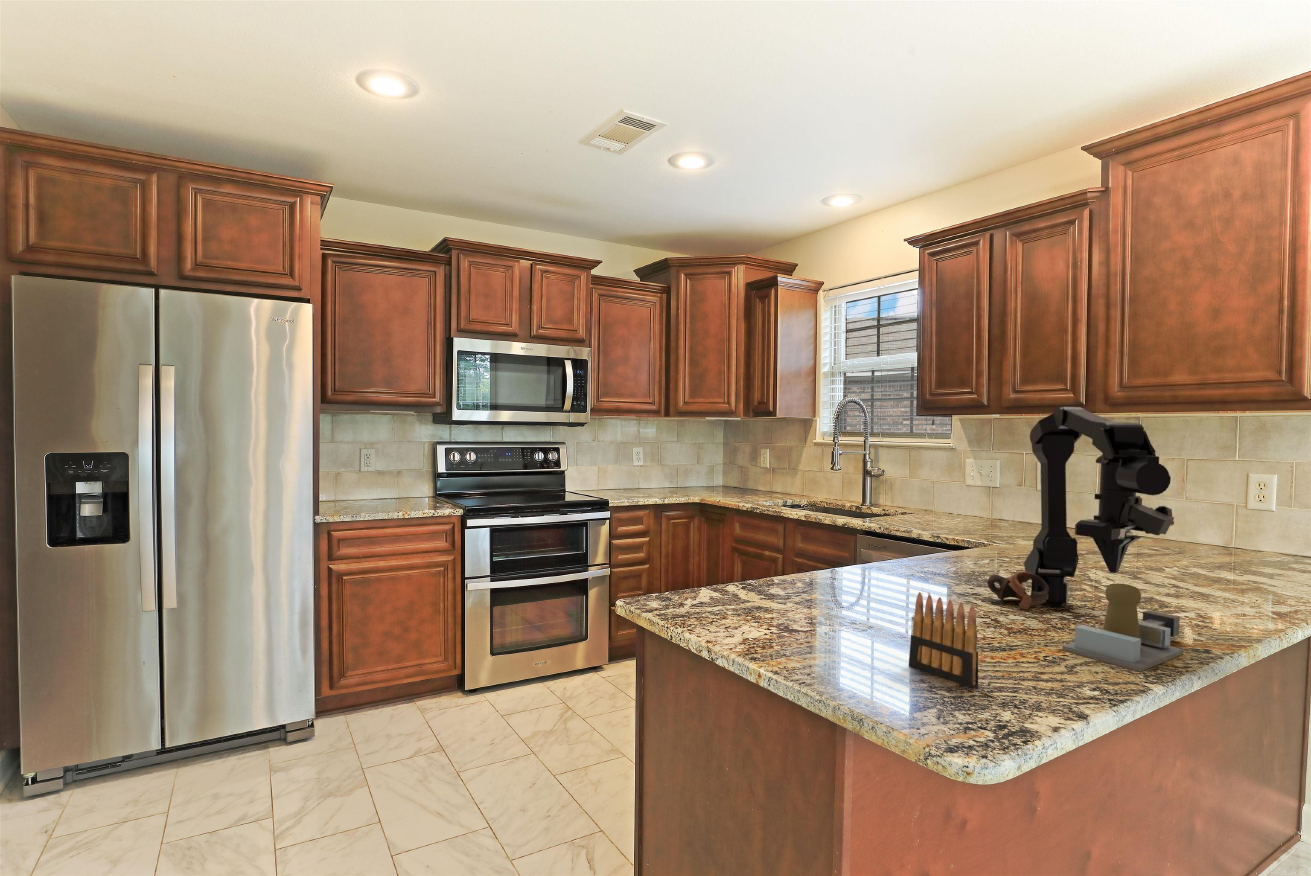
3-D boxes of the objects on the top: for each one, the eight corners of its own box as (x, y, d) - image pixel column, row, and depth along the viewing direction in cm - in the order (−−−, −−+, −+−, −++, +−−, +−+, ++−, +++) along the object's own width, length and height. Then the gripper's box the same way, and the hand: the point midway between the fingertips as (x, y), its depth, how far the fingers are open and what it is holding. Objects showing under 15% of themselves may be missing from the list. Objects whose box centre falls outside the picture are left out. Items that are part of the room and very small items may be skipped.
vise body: (1140, 671, 112) (1141, 645, 112) (1062, 650, 122) (1063, 625, 122) (1200, 646, 126) (1201, 622, 126) (1125, 629, 136) (1126, 607, 136)
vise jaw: (1163, 648, 120) (1164, 629, 120) (1106, 634, 128) (1107, 616, 128) (1191, 637, 127) (1192, 619, 127) (1135, 625, 135) (1136, 607, 135)
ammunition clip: (908, 666, 111) (911, 591, 111) (915, 664, 113) (918, 590, 112) (971, 688, 103) (975, 607, 102) (978, 685, 104) (982, 605, 103)
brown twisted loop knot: (1036, 602, 157) (1051, 575, 153) (1039, 631, 149) (1055, 603, 145) (980, 584, 160) (993, 557, 156) (980, 611, 152) (994, 583, 148)
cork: (1150, 652, 119) (1153, 588, 119) (1119, 653, 118) (1122, 589, 118) (1121, 641, 125) (1124, 580, 125) (1091, 642, 124) (1094, 580, 124)
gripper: (1144, 496, 119) (1139, 587, 119) (1189, 492, 129) (1185, 576, 129) (1075, 489, 128) (1071, 574, 128) (1122, 486, 138) (1118, 564, 139)
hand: (1113, 572), depth 131 cm, fingers closed
